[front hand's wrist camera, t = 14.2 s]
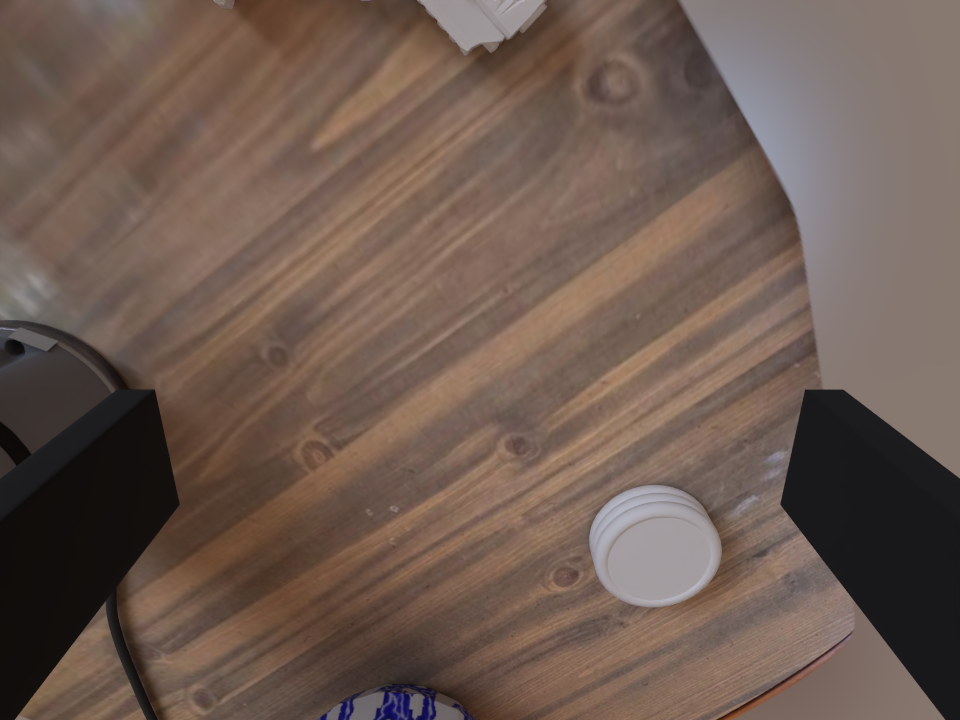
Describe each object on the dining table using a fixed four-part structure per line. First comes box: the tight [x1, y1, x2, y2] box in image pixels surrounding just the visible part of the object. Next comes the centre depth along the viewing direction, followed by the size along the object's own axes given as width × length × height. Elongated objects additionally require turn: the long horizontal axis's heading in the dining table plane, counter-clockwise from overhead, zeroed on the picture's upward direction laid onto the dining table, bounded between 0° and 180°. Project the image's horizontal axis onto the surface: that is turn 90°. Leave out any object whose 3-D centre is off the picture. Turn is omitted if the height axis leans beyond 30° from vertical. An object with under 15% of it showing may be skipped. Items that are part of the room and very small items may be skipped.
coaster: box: [589, 485, 722, 607], centre depth 50 cm, size 10×10×4 cm
